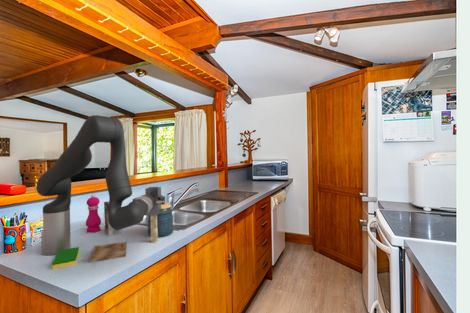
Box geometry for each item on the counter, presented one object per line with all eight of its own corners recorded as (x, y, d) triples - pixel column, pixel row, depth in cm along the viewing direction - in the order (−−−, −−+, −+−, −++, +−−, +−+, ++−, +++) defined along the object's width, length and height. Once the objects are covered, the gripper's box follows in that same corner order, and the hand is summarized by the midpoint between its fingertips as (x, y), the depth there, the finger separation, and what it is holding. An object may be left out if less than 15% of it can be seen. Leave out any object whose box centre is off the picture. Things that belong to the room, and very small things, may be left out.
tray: (89, 262, 86) (89, 257, 86) (94, 250, 98) (94, 246, 98) (125, 256, 91) (125, 251, 91) (126, 245, 103) (126, 241, 103)
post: (151, 242, 105) (150, 213, 105) (152, 240, 107) (152, 211, 107) (156, 242, 105) (155, 213, 105) (157, 240, 108) (157, 211, 107)
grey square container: (145, 215, 103) (145, 188, 103) (150, 211, 110) (149, 186, 110) (157, 214, 104) (157, 188, 104) (161, 211, 110) (161, 186, 110)
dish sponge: (51, 270, 81) (51, 263, 81) (58, 256, 93) (58, 250, 93) (75, 265, 85) (75, 259, 85) (79, 252, 97) (79, 246, 97)
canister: (157, 239, 109) (156, 203, 109) (142, 234, 117) (141, 200, 117) (178, 232, 119) (178, 198, 119) (163, 227, 127) (163, 196, 127)
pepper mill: (83, 231, 123) (82, 194, 123) (97, 227, 129) (96, 192, 129) (89, 233, 119) (88, 195, 119) (103, 230, 125) (103, 193, 125)
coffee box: (104, 231, 122) (103, 201, 122) (117, 229, 126) (116, 200, 126) (108, 236, 115) (107, 204, 115) (122, 233, 119) (121, 202, 119)
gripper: (161, 195, 92) (170, 189, 109) (124, 196, 91) (139, 189, 108) (161, 214, 92) (170, 205, 109) (124, 214, 92) (139, 205, 108)
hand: (154, 197), depth 109 cm, fingers closed on grey square container, 5 cm apart
